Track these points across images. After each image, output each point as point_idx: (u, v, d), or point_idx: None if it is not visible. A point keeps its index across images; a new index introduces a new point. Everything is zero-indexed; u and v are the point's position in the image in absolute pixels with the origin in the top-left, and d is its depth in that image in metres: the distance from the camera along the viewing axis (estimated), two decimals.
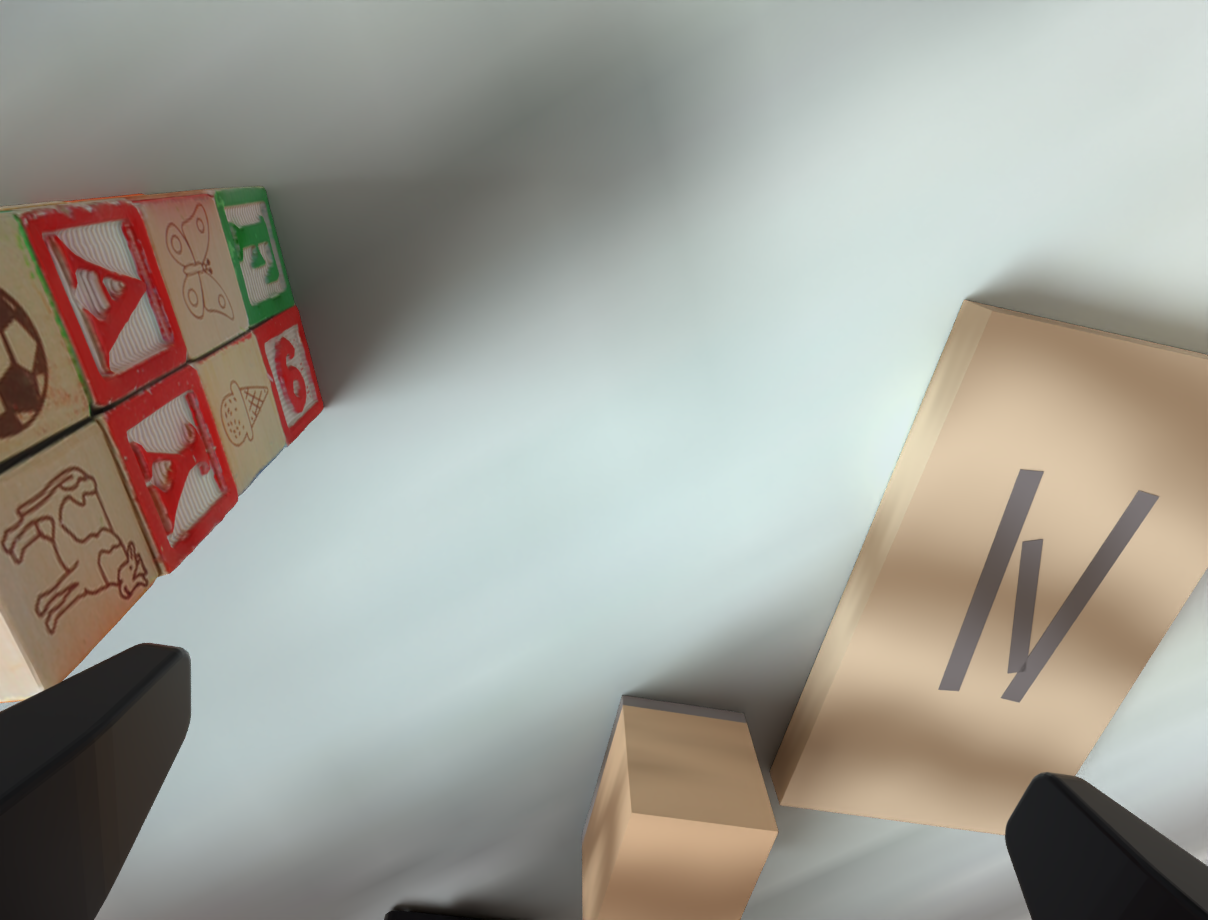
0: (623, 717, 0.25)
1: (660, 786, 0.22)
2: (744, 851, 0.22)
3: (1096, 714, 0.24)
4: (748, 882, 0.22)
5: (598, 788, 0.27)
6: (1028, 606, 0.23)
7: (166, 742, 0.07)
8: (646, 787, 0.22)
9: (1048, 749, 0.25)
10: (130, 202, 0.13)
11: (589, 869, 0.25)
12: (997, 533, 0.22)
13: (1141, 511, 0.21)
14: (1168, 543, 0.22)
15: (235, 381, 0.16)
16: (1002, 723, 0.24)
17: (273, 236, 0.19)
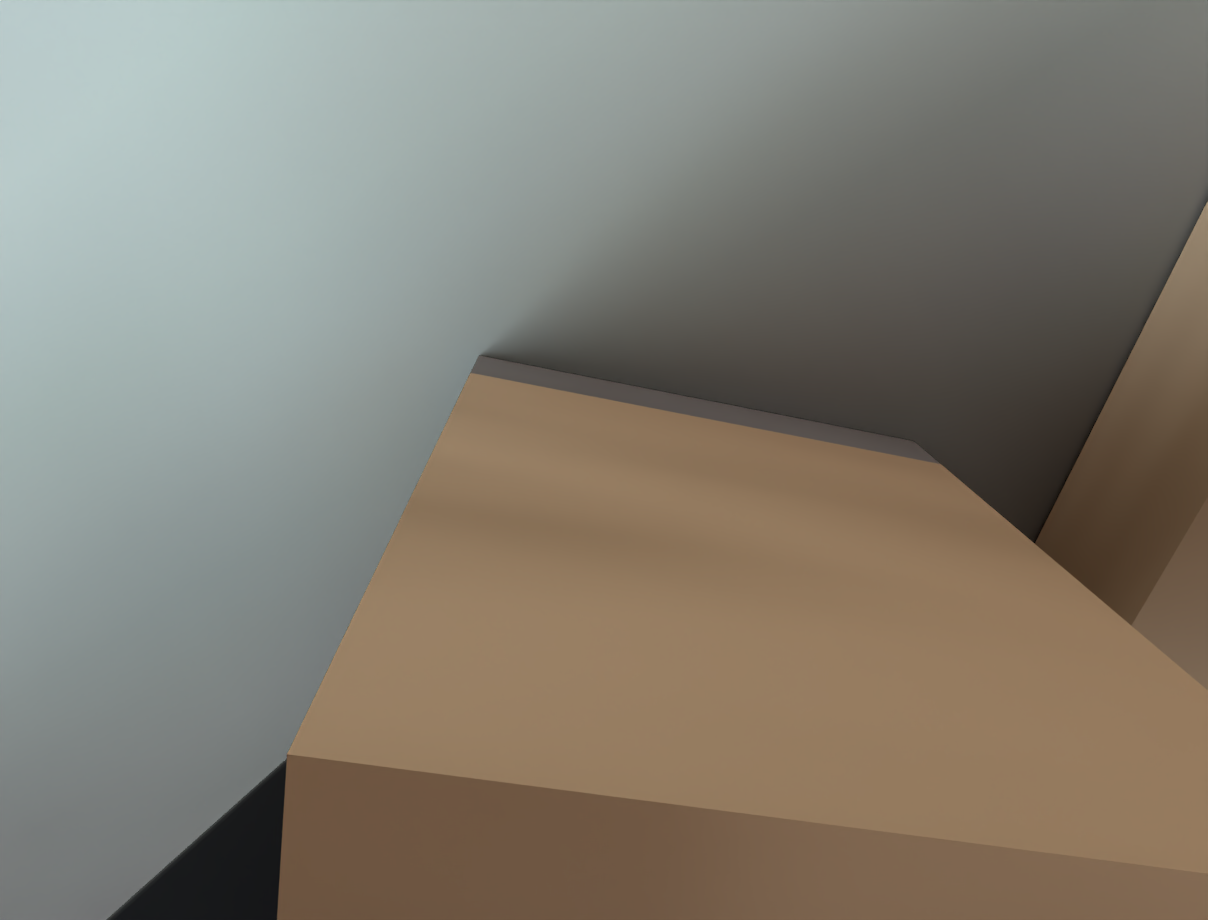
0: None
1: (587, 608, 0.03)
2: None
3: None
4: None
5: None
6: None
7: None
8: (485, 605, 0.03)
9: None
10: None
11: None
12: None
13: None
14: None
15: None
16: None
17: None
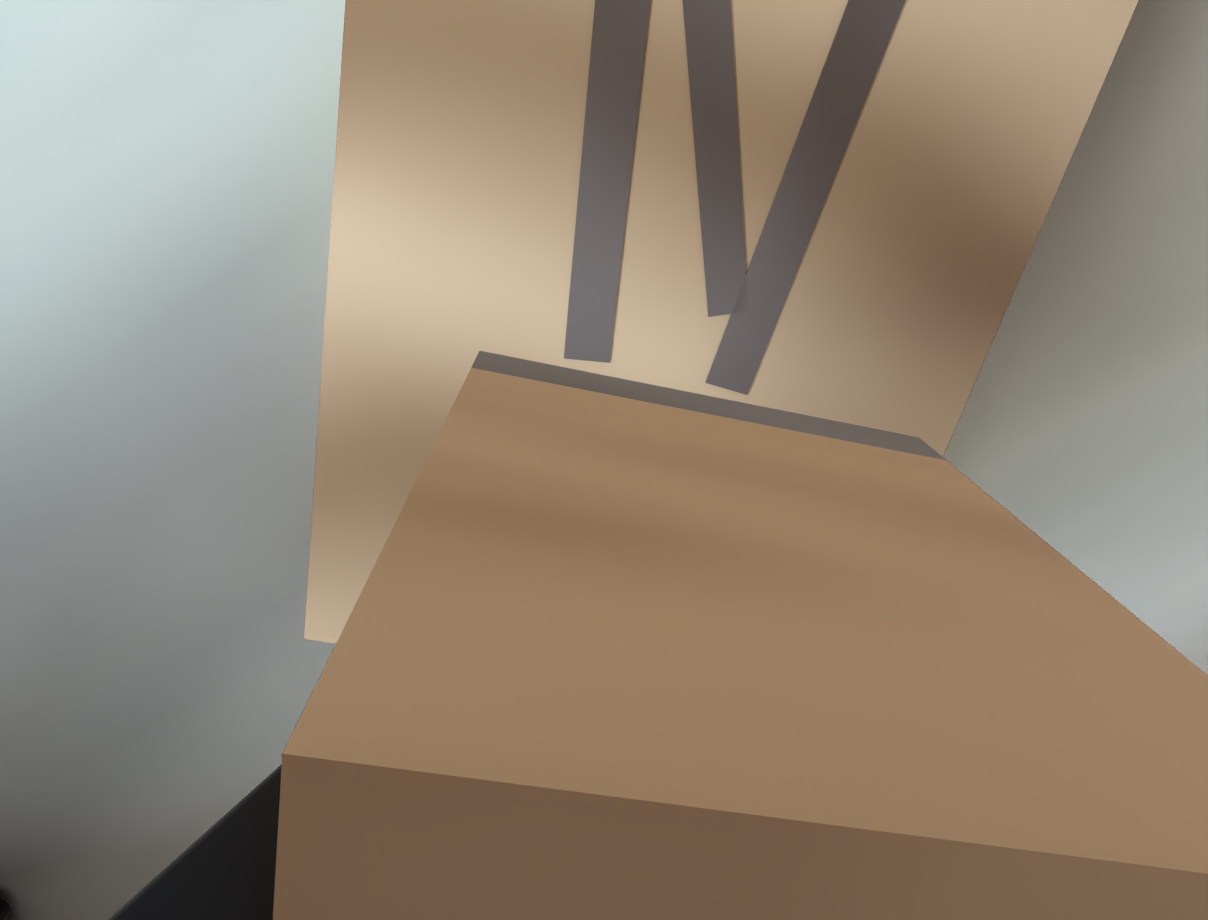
0: None
1: (591, 604, 0.03)
2: None
3: (917, 429, 0.12)
4: None
5: None
6: (723, 124, 0.10)
7: None
8: (489, 601, 0.03)
9: None
10: None
11: None
12: None
13: None
14: None
15: None
16: None
17: None
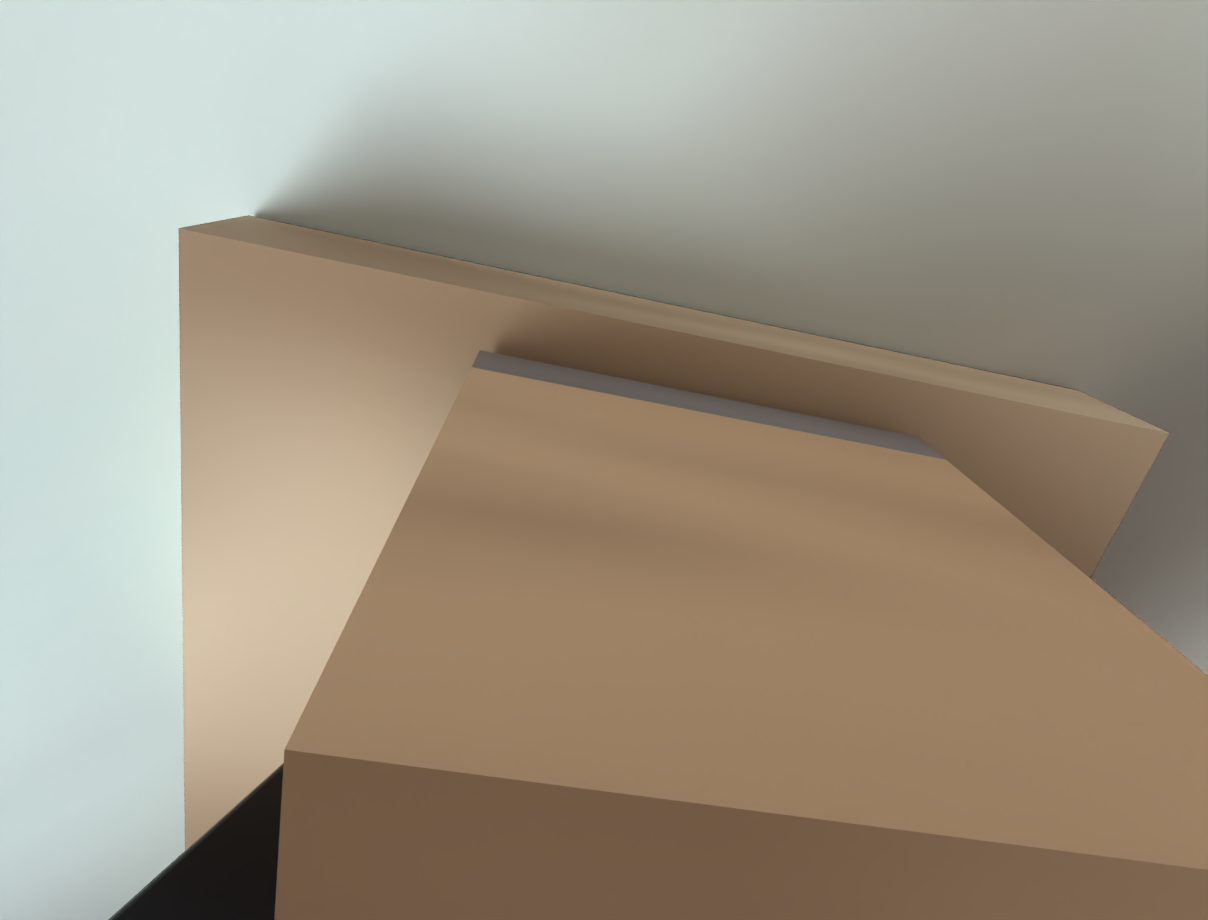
0: None
1: (591, 600, 0.03)
2: None
3: None
4: None
5: None
6: None
7: None
8: (489, 598, 0.03)
9: None
10: None
11: None
12: None
13: None
14: None
15: None
16: None
17: None
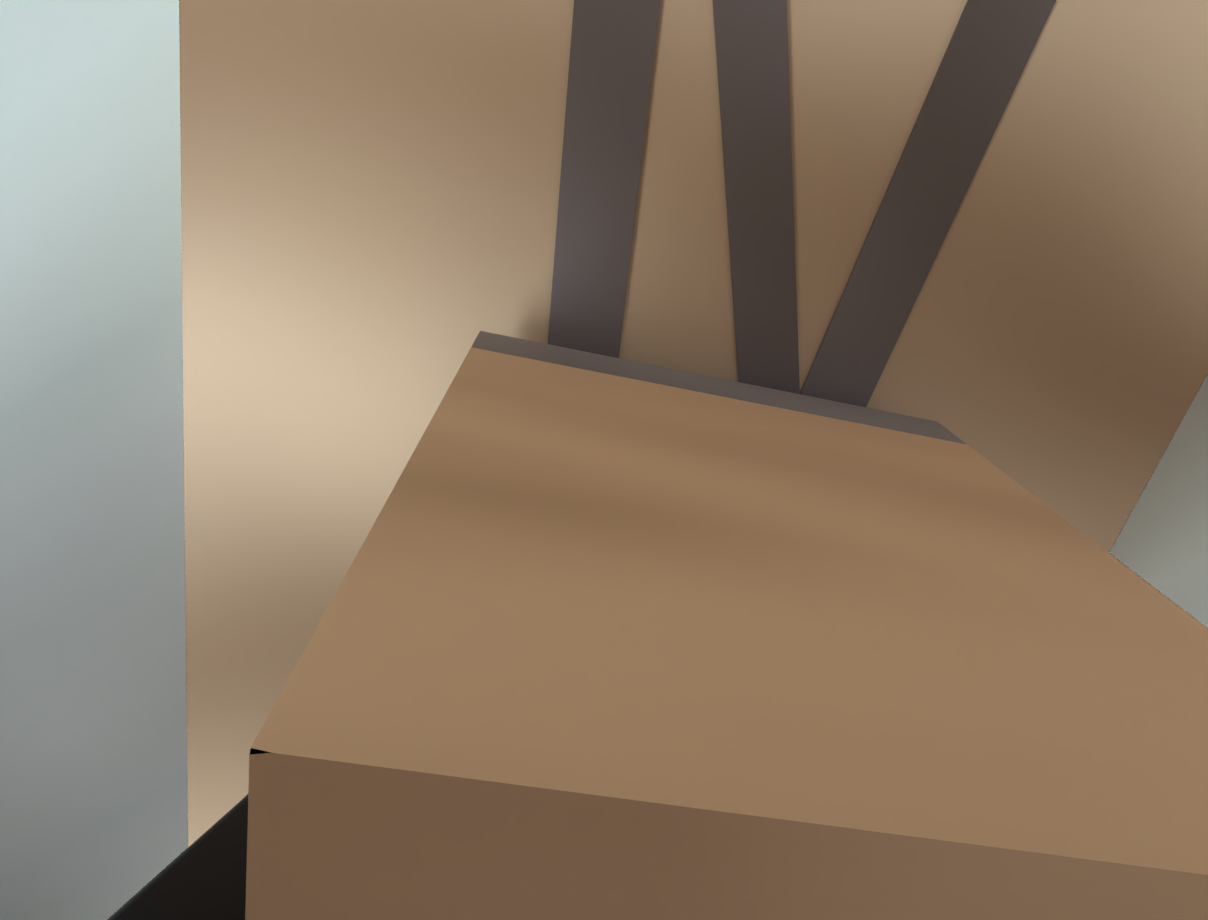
0: None
1: (597, 585, 0.03)
2: None
3: None
4: None
5: None
6: (771, 181, 0.06)
7: None
8: (484, 584, 0.03)
9: None
10: None
11: None
12: None
13: None
14: None
15: None
16: None
17: None
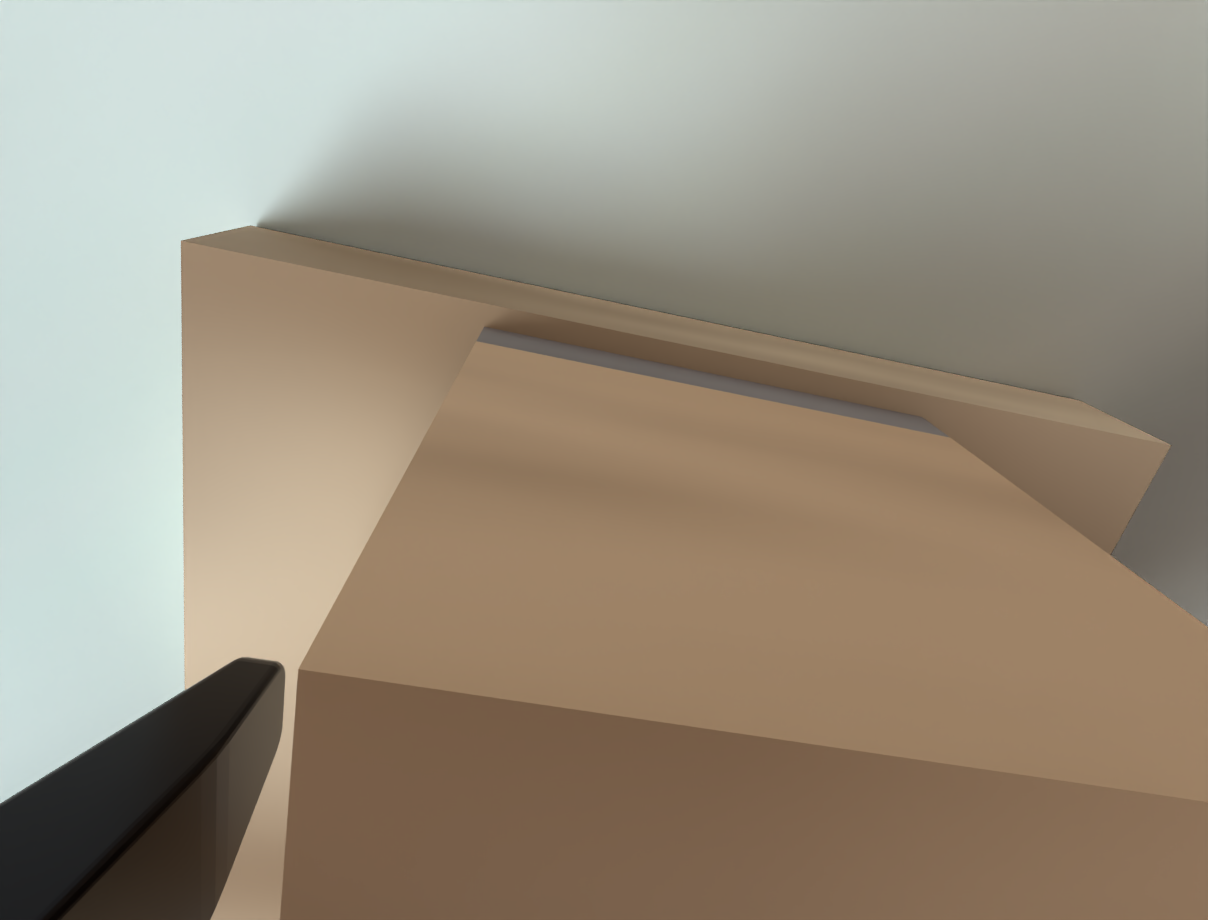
0: None
1: (601, 550, 0.03)
2: None
3: None
4: None
5: None
6: None
7: (264, 754, 0.07)
8: (498, 543, 0.03)
9: None
10: None
11: None
12: None
13: None
14: None
15: None
16: None
17: None
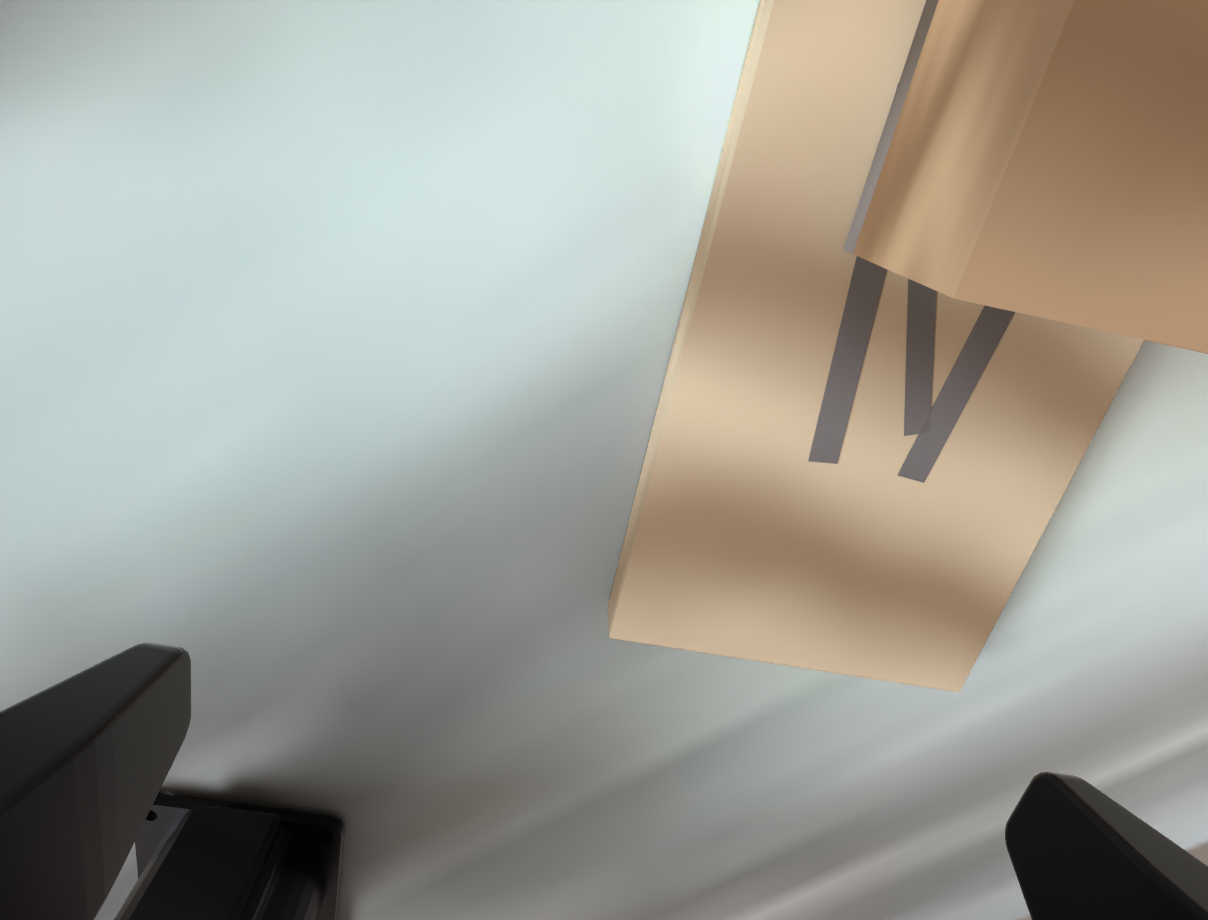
0: None
1: None
2: None
3: (1033, 503, 0.18)
4: None
5: (908, 90, 0.13)
6: (926, 325, 0.16)
7: (166, 742, 0.07)
8: None
9: (969, 557, 0.18)
10: None
11: (915, 197, 0.12)
12: None
13: None
14: None
15: None
16: (902, 515, 0.18)
17: None
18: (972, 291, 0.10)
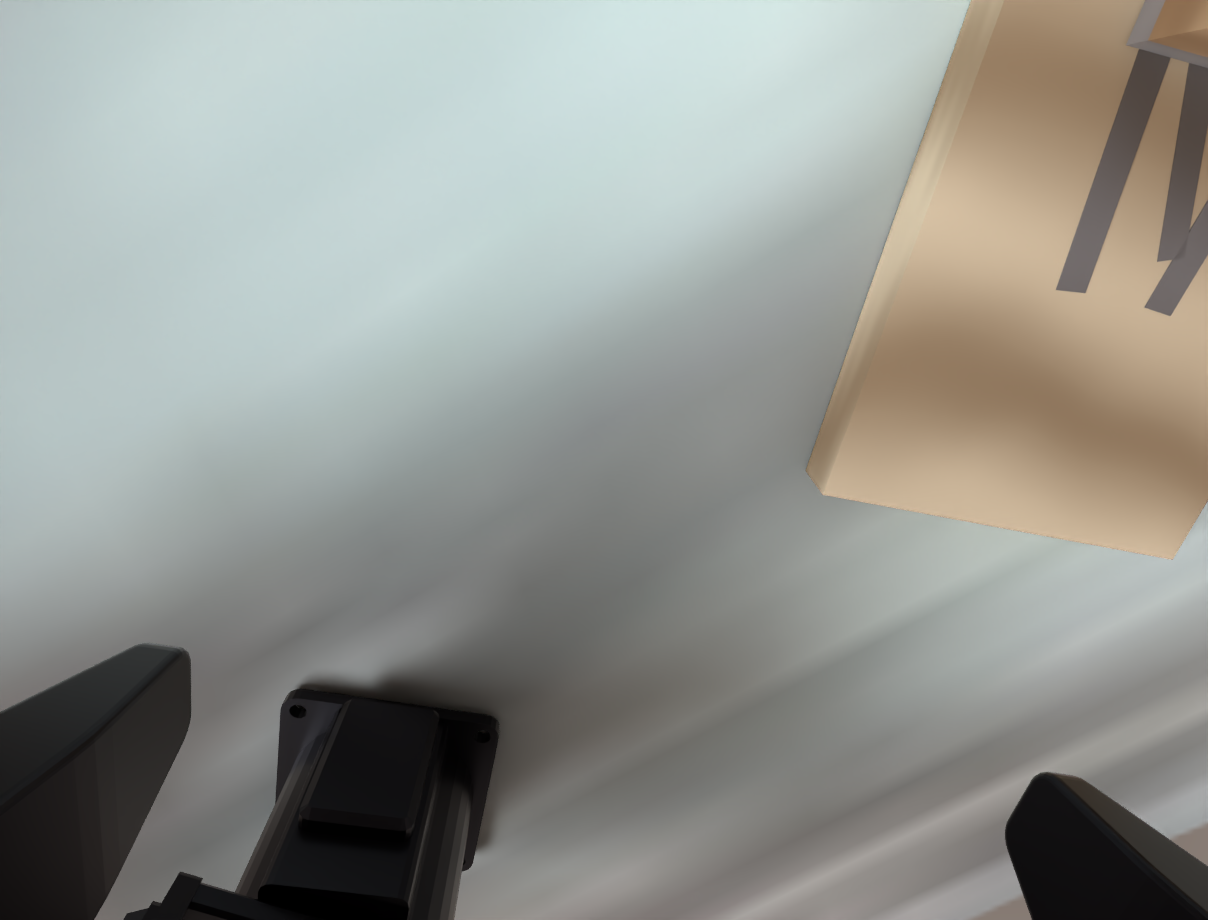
0: None
1: None
2: None
3: None
4: None
5: None
6: (1197, 134, 0.15)
7: (166, 742, 0.07)
8: None
9: (1204, 402, 0.18)
10: None
11: None
12: None
13: None
14: None
15: None
16: (1142, 354, 0.17)
17: None
18: None
